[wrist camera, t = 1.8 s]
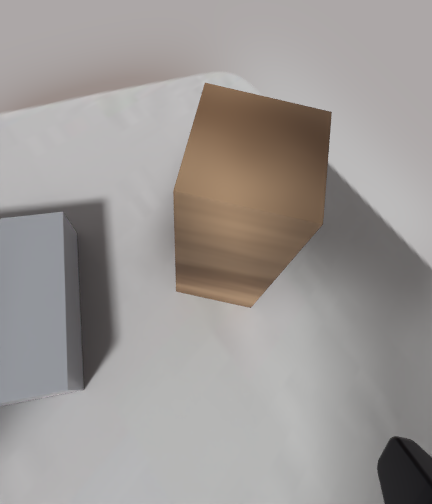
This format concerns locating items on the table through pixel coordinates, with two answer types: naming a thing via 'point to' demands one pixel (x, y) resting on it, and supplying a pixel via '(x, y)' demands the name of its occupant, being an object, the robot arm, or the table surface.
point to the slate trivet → (39, 308)
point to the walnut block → (247, 193)
